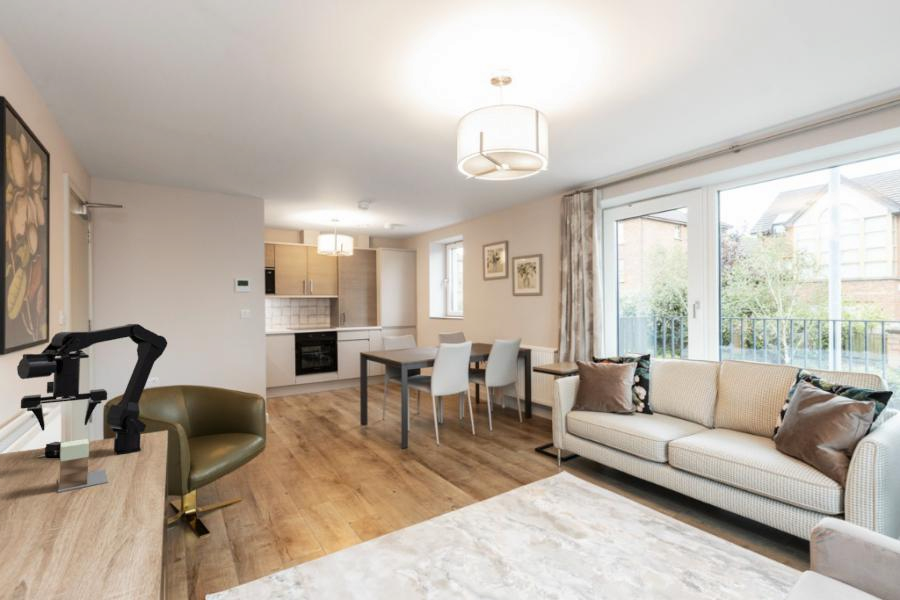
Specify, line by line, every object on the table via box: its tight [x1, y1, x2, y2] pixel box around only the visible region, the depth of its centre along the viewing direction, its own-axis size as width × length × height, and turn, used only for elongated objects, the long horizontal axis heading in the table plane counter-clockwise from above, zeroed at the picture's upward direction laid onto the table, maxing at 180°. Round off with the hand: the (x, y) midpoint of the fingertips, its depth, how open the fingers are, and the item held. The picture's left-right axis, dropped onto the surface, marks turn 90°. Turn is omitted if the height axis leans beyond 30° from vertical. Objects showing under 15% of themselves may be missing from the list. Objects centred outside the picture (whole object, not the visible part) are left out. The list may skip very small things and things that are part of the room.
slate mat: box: [57, 469, 109, 494], centre depth 116 cm, size 10×12×1 cm
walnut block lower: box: [59, 470, 89, 490], centre depth 113 cm, size 6×6×4 cm
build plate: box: [34, 441, 63, 459], centre depth 137 cm, size 12×7×5 cm, turn 85°
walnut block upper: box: [59, 457, 89, 477], centre depth 114 cm, size 6×6×4 cm
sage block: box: [59, 438, 90, 461], centre depth 114 cm, size 6×6×4 cm
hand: (64, 427), depth 126 cm, fingers open, 9 cm apart
